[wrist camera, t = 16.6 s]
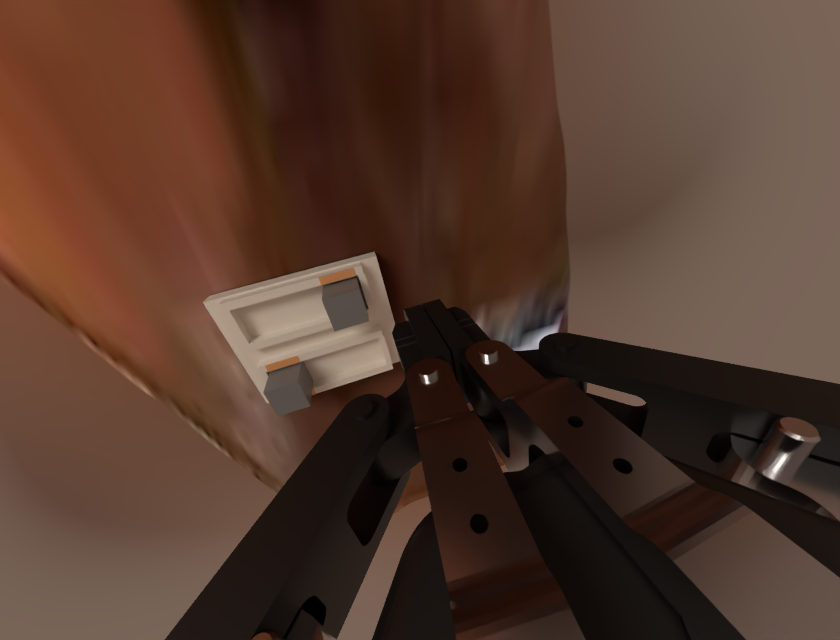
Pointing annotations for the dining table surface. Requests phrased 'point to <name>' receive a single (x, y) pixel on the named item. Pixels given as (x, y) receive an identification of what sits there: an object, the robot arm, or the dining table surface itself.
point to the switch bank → (308, 325)
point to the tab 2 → (344, 303)
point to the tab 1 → (289, 388)
